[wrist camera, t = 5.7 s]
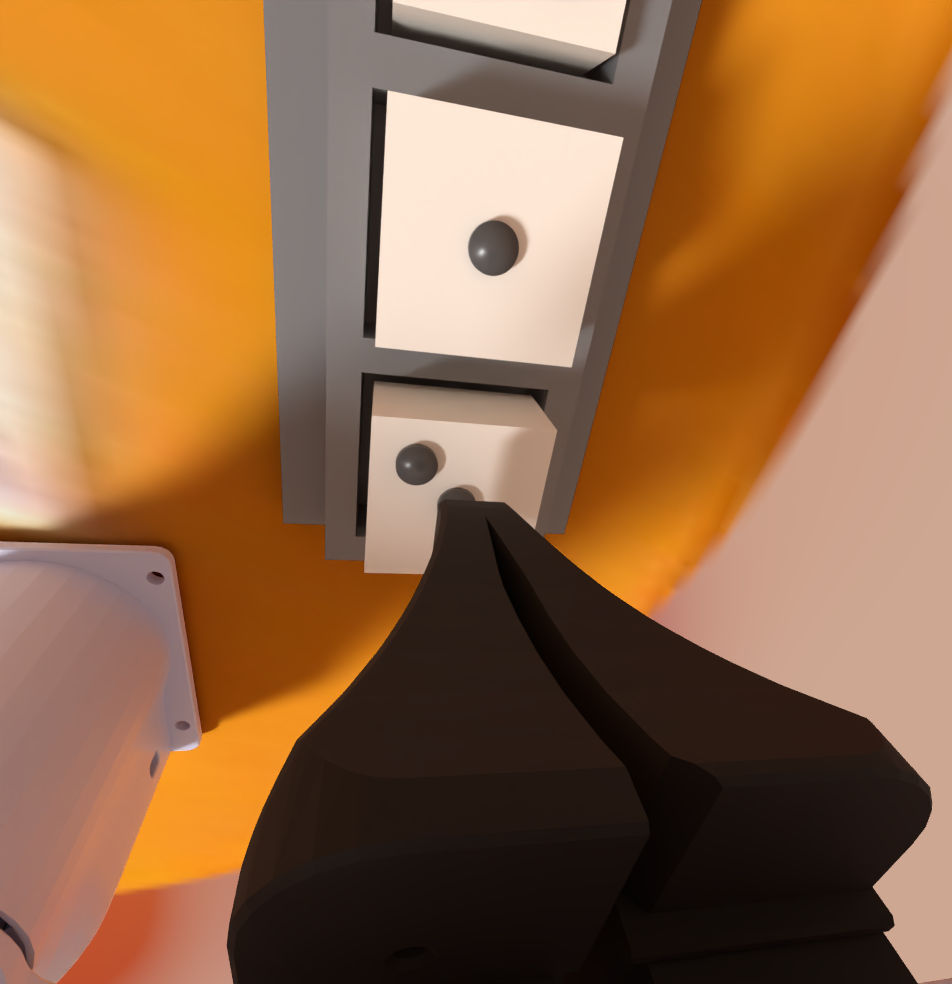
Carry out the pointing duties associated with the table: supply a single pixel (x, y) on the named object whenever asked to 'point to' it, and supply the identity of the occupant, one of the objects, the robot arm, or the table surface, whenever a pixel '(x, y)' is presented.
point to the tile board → (357, 229)
